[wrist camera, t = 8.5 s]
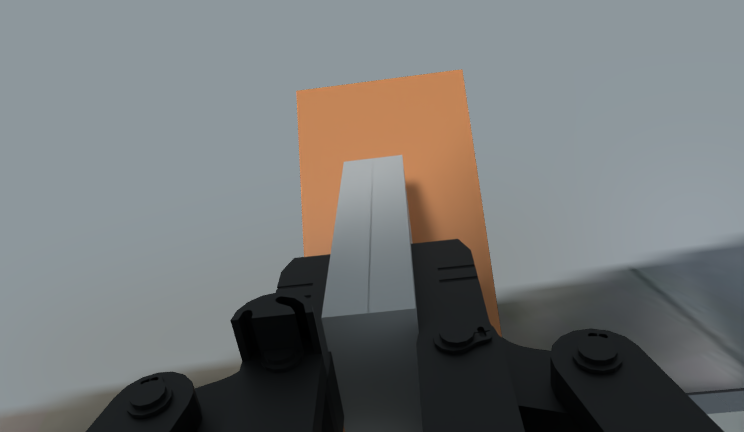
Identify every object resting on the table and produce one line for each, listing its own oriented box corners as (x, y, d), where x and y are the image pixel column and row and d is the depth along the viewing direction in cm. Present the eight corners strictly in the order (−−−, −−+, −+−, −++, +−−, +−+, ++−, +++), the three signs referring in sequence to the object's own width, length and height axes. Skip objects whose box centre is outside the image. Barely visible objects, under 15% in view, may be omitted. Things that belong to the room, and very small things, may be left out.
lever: (555, 553, 15) (482, 93, 20) (567, 566, 14) (486, 66, 18) (304, 569, 16) (286, 118, 20) (289, 585, 14) (273, 93, 19)
